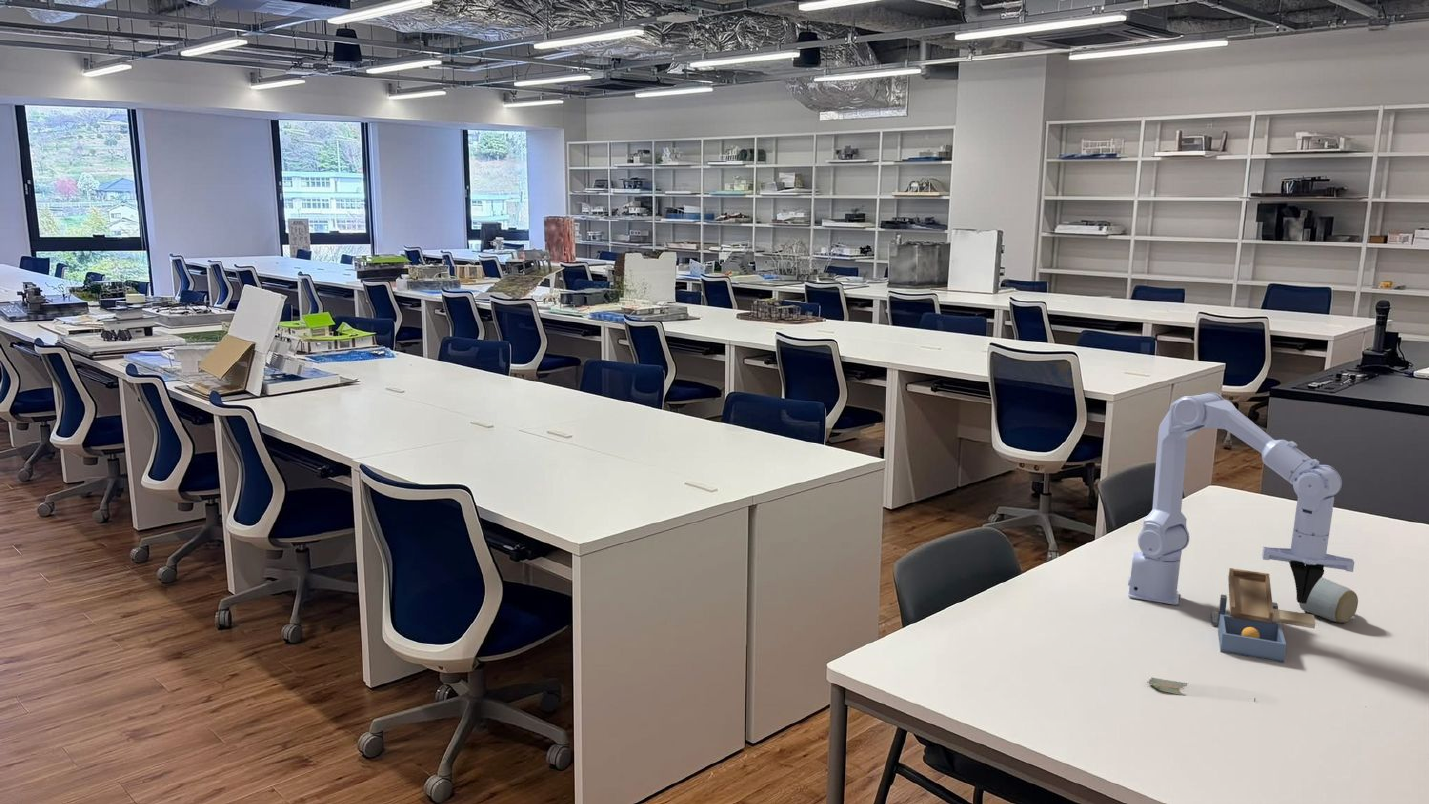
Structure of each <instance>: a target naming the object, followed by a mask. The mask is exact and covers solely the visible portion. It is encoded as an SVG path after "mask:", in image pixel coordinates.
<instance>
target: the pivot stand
mask: <svg viewBox="0 0 1429 804" xmlns="http://www.w3.org/2000/svg"><path fill="white" fill-rule="evenodd" d="M1227 603H1228V596H1227V594H1223V593H1221V594H1220V598H1219V606H1218V611H1211V612H1210V614H1211V615H1210V618H1211V626H1212V627H1217V628H1218V627H1219V619H1220V614H1222V615H1228V616H1230V613H1226V610H1227ZM1272 604H1273V609H1279V604H1278V603H1277V602H1273V601H1272ZM1272 623H1277V622H1272ZM1278 624H1281V623H1278Z"/></svg>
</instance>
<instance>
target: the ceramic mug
mask: <svg viewBox="0 0 1429 804" xmlns="http://www.w3.org/2000/svg"><path fill="white" fill-rule="evenodd" d="M1298 604H1299V608H1300V609H1301V610H1302V611H1304V612H1306V613H1308V614H1309V613H1310V614H1311V615H1314V616H1317V617H1321V618H1322V619H1323V618H1324V619H1326V620H1329V621H1331V622H1333V623H1338V624H1344V623H1347V622H1349V621H1350V620H1351V619H1352V618H1353V617H1354V616H1355V614H1356V612H1357V610H1358V605H1359V597H1358V595H1357V593H1356V592H1355V591H1354V590H1352V589H1350V588H1349V587H1346V586H1345V585H1342V584H1339V583H1337V582H1335V581H1332V580H1330V579H1327V578H1325V577H1323V576H1322V577H1321V578H1320V579H1319V580H1318V582H1317V583H1316V584H1315V586H1314V587H1313V589H1312V591H1311V592H1310V595H1309V597H1308V599H1307V602H1306V604H1304V603H1298Z"/></svg>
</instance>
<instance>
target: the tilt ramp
mask: <svg viewBox="0 0 1429 804" xmlns="http://www.w3.org/2000/svg"><path fill="white" fill-rule="evenodd" d="M1227 577H1228V579H1227V580H1228V598H1229V600H1228V601H1229V614H1230V616H1231V617H1237V618H1243V619H1249V620H1256V621H1262V622H1268V623H1272V622H1277V623H1280V624H1282V625H1283V624H1285V625H1291V626H1296V627H1303V628H1310V629H1315V627H1316V621H1315V615H1314V614H1312V613H1310V614H1309V613H1302V612H1299V611H1298V612H1297V611H1291V610H1285V609H1279V608H1278V609H1273V604H1272V602H1273V597H1272V587H1271V578H1270V573H1266V572H1259V571H1252V570H1245V569H1238V568H1233V567H1232V568H1231V567H1230V568H1229V571H1228V575H1227Z"/></svg>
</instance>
